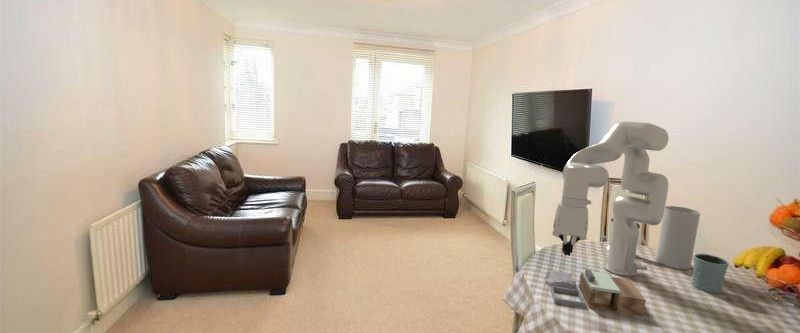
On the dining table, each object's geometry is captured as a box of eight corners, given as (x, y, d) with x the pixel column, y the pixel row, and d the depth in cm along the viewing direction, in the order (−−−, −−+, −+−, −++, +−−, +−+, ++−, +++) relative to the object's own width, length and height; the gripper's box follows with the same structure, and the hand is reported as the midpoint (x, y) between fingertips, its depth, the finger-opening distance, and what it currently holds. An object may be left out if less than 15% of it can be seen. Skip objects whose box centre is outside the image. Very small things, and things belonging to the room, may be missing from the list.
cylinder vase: (658, 256, 175) (667, 204, 171) (692, 265, 166) (701, 210, 163) (653, 263, 166) (661, 208, 162) (687, 272, 158) (698, 215, 154)
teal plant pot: (719, 286, 146) (724, 257, 144) (726, 297, 137) (732, 266, 135) (686, 279, 151) (692, 251, 149) (692, 290, 142) (697, 260, 140)
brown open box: (626, 296, 134) (629, 279, 133) (642, 318, 119) (645, 299, 118) (578, 289, 137) (580, 272, 136) (588, 310, 123) (590, 291, 122)
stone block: (549, 295, 136) (578, 294, 133) (547, 283, 135) (577, 281, 133) (543, 282, 147) (570, 281, 145) (541, 270, 147) (569, 269, 145)
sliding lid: (607, 276, 134) (608, 268, 134) (619, 293, 121) (621, 285, 121) (582, 272, 136) (583, 264, 136) (591, 289, 123) (592, 280, 123)
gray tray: (578, 296, 132) (579, 290, 131) (584, 310, 123) (585, 303, 122) (549, 292, 134) (550, 285, 134) (553, 305, 125) (554, 298, 124)
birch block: (605, 298, 130) (607, 284, 129) (610, 305, 125) (612, 291, 124) (590, 295, 131) (592, 282, 130) (593, 302, 126) (595, 288, 125)
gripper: (595, 202, 127) (587, 253, 130) (548, 197, 131) (542, 247, 133) (601, 207, 120) (593, 261, 123) (551, 201, 124) (545, 254, 126)
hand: (566, 254), depth 128 cm, fingers closed
